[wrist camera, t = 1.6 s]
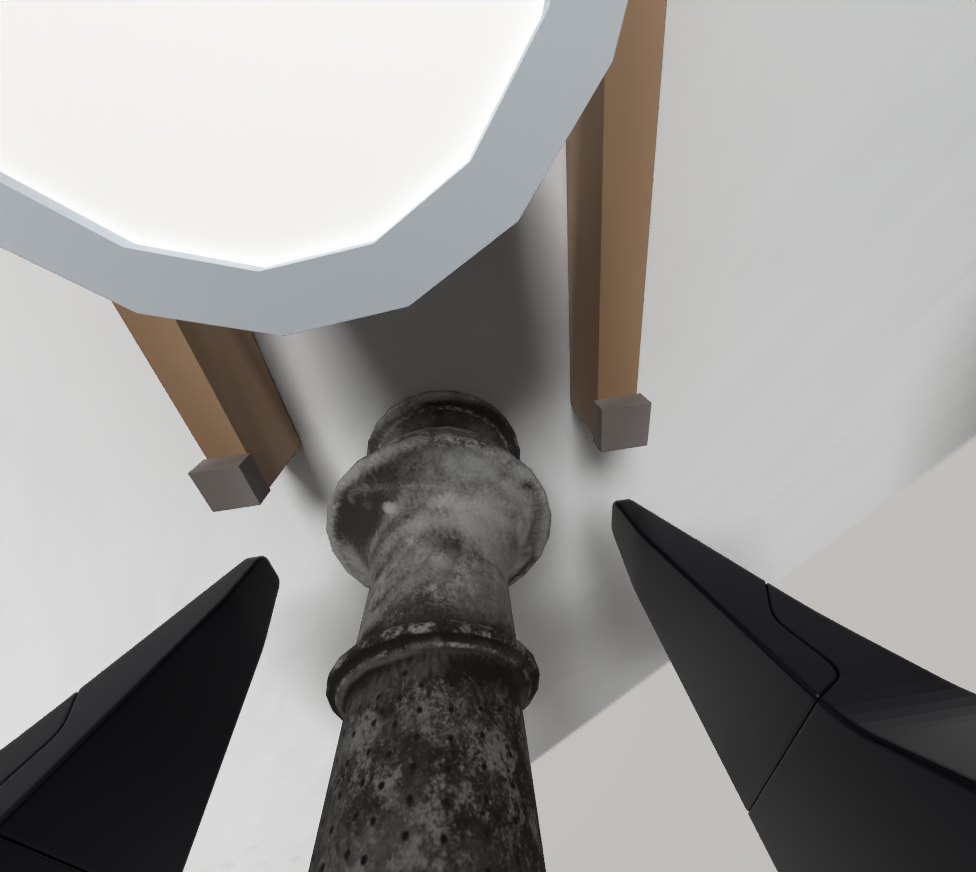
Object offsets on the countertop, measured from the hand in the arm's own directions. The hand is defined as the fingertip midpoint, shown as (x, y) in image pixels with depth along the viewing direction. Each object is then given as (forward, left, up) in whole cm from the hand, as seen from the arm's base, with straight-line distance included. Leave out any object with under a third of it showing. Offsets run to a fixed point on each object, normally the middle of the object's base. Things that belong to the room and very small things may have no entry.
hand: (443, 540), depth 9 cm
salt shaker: (0, 0, -4) cm, 4 cm away
